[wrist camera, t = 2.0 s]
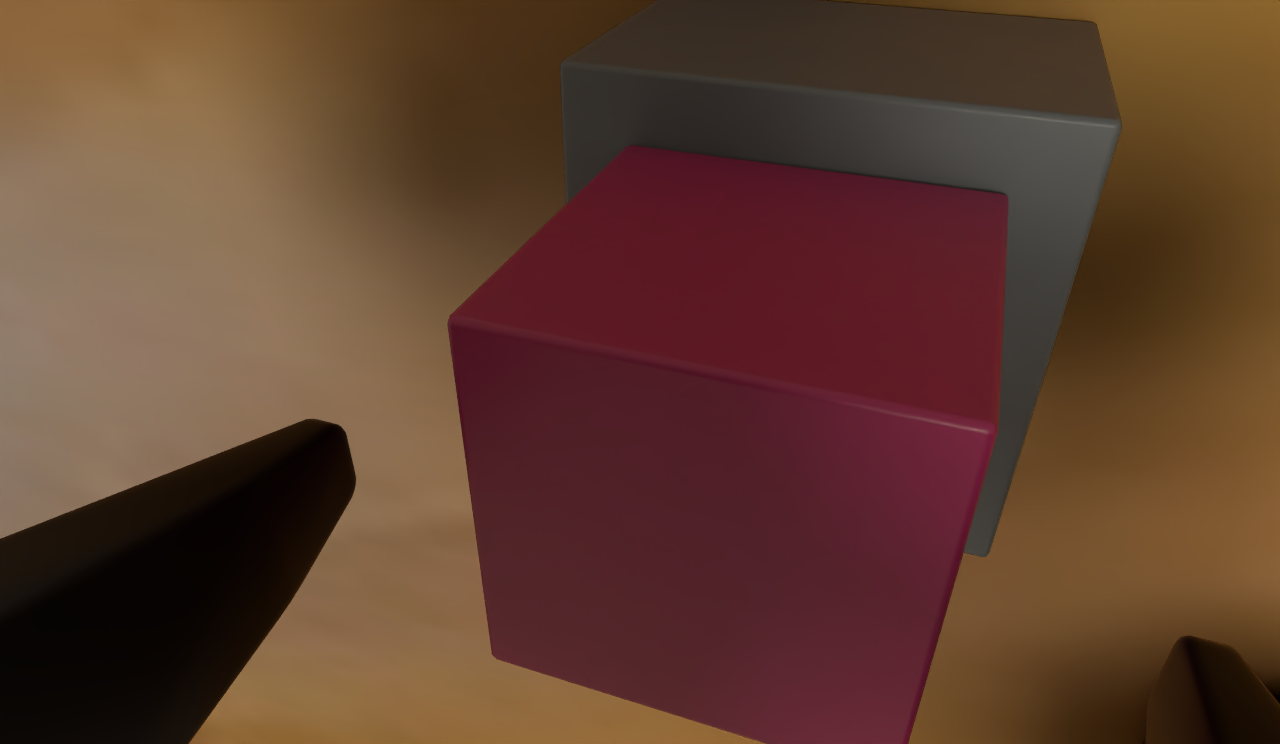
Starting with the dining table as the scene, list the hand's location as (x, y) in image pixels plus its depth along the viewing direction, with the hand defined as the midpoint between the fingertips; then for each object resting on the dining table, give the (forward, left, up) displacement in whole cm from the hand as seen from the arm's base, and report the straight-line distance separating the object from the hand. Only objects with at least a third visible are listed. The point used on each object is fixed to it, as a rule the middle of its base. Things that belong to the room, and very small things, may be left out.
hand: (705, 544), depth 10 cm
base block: (0, 0, -10) cm, 10 cm away
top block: (0, 0, -5) cm, 5 cm away
